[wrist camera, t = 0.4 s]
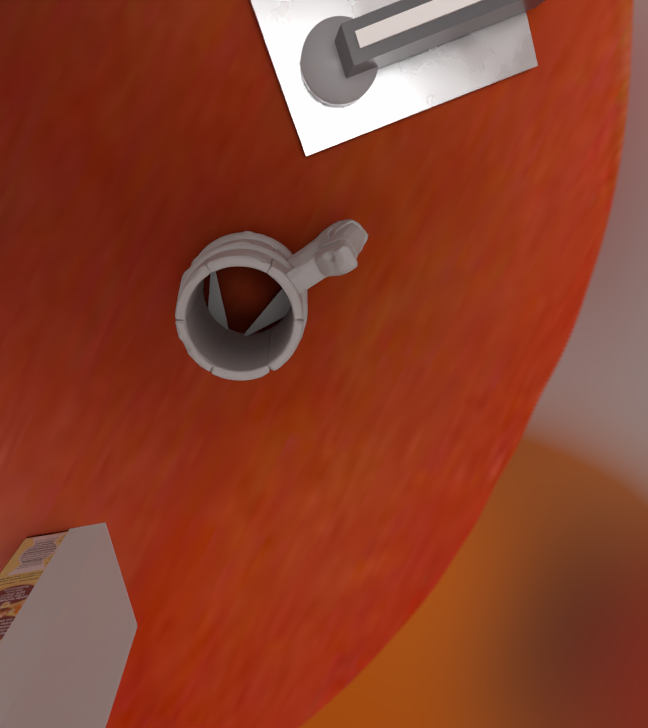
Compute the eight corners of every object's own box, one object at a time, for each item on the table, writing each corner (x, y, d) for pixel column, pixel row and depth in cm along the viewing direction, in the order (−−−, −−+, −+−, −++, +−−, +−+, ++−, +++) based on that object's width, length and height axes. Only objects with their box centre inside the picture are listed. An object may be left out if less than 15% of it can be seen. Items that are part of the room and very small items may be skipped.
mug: (165, 273, 36) (114, 306, 24) (318, 170, 35) (340, 156, 23) (233, 366, 38) (216, 437, 27) (379, 272, 37) (426, 304, 26)
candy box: (23, 536, 40) (-120, 728, 26) (81, 525, 40) (-28, 710, 26) (58, 633, 43) (-54, 857, 28) (112, 623, 43) (29, 841, 28)
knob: (288, 38, 31) (291, 12, 27) (523, -55, 31) (563, -97, 27) (316, 117, 33) (322, 104, 28) (541, 29, 32) (582, 2, 28)
